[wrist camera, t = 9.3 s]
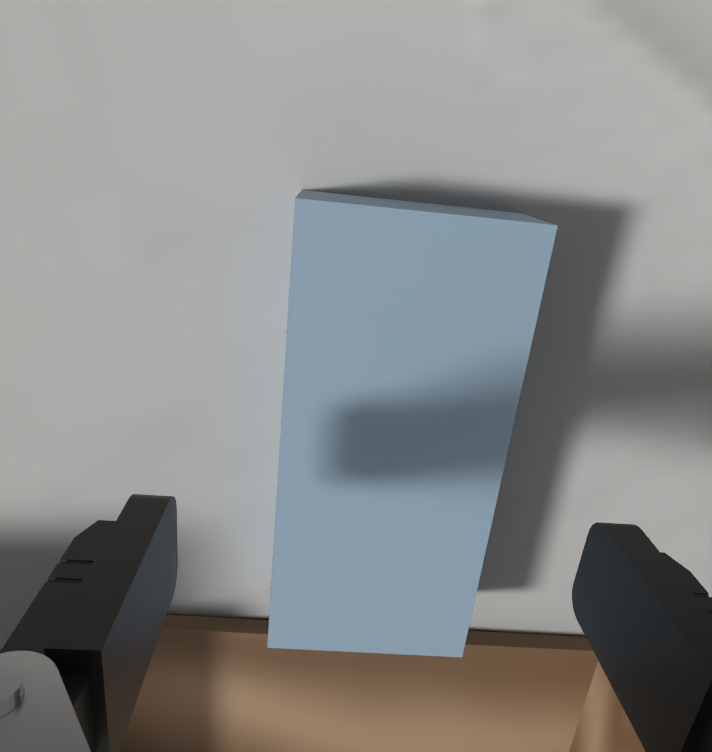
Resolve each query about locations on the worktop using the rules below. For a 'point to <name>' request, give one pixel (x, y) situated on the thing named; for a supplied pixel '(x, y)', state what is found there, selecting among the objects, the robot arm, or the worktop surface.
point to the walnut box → (372, 696)
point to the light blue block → (397, 416)
